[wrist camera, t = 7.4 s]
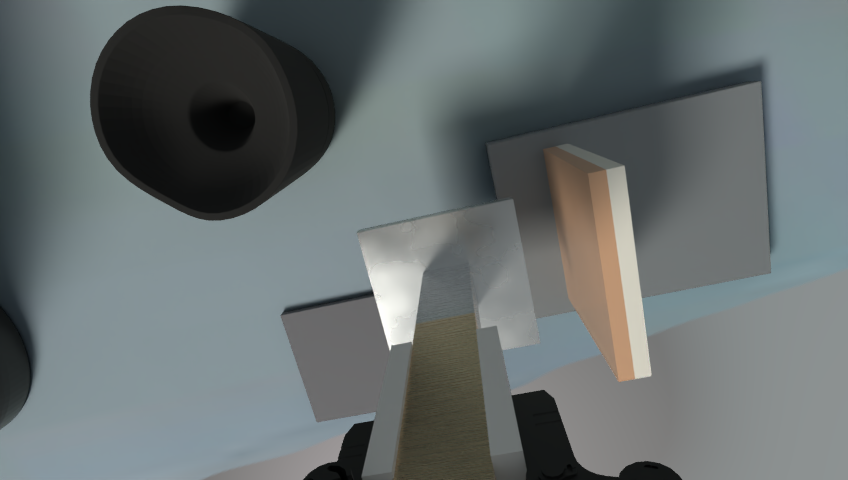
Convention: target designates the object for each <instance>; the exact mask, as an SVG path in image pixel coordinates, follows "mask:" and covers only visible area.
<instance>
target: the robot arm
mask: <svg viewBox="0 0 848 480" xmlns="http://www.w3.org/2000/svg"><path fill="white" fill-rule="evenodd" d="M476 334H477V342H478V351H479V360H480V368H481V377H482V386H483V395H484V403H485V412H486V421H487V429H488V438H489V447H490V456H491V460H492V463H493V468H494V472H495V476H496V480H682V479H681V478H680V476H679V475H678V474H677V473H675V472H674V471H673V470H672V469H671V468H669V467H667V466H664V465H662V464H660V463H655V462H649V461H644V462H635V463H633V464H631V465H628V466H626V467H625V468H624V469H623V470H622V471H621V472H620V475H619V477H611V476H604V475H598V474H595V473H593V472H590V471H588V470H586V469H585V468H583V467H582V466H581V465H580V464H579V463H578V462H577V461H576V459H575V457H574V454H573V451H572V448H571V446H570V443H569V440H568V437H567V434H566V431H565V428H564V425H563V423H562V420H561V417H560V414H559V412H558V408H557V405H556V403H555V400H554V398H553V397H552V396H550V395H549V394H548V393H547V392H546V391H545V390H540V391H535V392H529V393H524V394H517V395H511V390H510V385H509V381H508V376H507V371H506V367H505V362H504V357H503V353H502V348H501V343H500V338H499V334H498V329H497V326H491V327H486V328H481V329H476ZM412 348H413V345H412V342H407V343H402V344H397V345H392V346H391V350H390V355H389V359H388V363H387V368H386V372H385V376H384V381H383V385H382V389H381V394H380V398H379V402H378V407H377V411H376V415H375V420H374V421H369V422H363V423H357V424H354V425H353V426H352V428H351V429H350V430H349V431H348V433H347V434H346V435H345V437H344V440H343V443H342V447H341V451H340V453H339V457H338V461H337V462H332V463H327V464H324V465H322V466H319V467H317V468H316V469H314V470H313V471H311V472H310V473H309V474H308V475H307V476H306V477H305V478H304V479H303V480H393V479H394V473H395V466H396V459H397V452H398V445H399V438H400V431H401V425H402V418H403V411H404V404H405V397H406V390H407V383H408V376H409V369H410V362H411V355H412ZM29 384H30V368H29V362H28V357H27V353H26V350H25V347H24V345H23V342H22V340H21V338H20V335H19V334H18V332H17V330H16V328H15V327H14V325H13V323H12V322H11V320H10V319H9V318H8V316H7V315H6V314H5V313H4V311H3V310H2V309H1V308H0V429H2V428H3V427H4V426H6V425H7V424H8V423H9V422H11V421H12V420H13V419H14V418H15V417H16V415H17V414H18V413H19V411H20V410H21V408H22V406H23V405H24V402H25V400H26V397H27V394H28V390H29Z"/></svg>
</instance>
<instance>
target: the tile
mask: <svg viewBox="0 0 848 480" xmlns="http://www.w3.org/2000/svg"><path fill="white" fill-rule="evenodd" d="M543 152H544V158H545V163H546V169H547V175H548V181H549V187H550V193H551V199H552V204H553V210H554V216H555V222H556V228H557V234H558V240H559V246H560V251H561V257H562V263H563V269H564V275H565V281H566V287H567V292H568V298H569V300H570V302H571V303H572V305H573V307H574V308H575V310H576V312H577V313H578V315H579V317H580V318H581V320H582V322H583V323H584V325H585V326H586V328H587V330H588V331H589V333H590V335H591V336H592V338H593V340H594V341H595V343H596V345H597V346H598V348H599V350H600V351H601V353H602V355H603V356H604V358H605V360H606V361H607V363H608V365H609V366H610V368H611V370H612V371H613V373H614V375H615V376H616V378H617V380H618V381H619V382H621V381H626V380H632V379H638V378H643V377H648V376H651V369H650V360H649V352H648V344H647V337H646V329H645V321H644V313H643V305H642V297H641V290H640V282H639V274H638V266H637V258H636V251H635V243H634V235H633V227H632V219H631V212H630V204H629V196H628V188H627V180H626V173H625V165H622V164H619V163H617V162H614V161H612V160H609V159H607V158H604V157H601V156H599V155H596V154H594V153H591V152H589V151H586V150H583V149H581V148H578V147H576V146H573V145H571V144H563V145H559V146H554V147H550V148H546V149H543Z"/></svg>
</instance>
